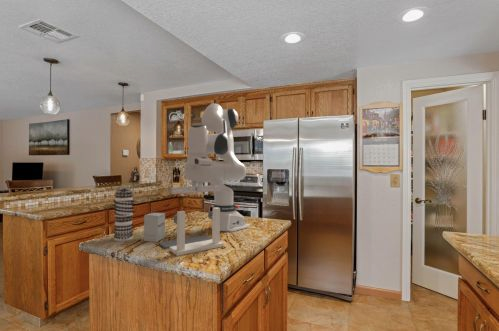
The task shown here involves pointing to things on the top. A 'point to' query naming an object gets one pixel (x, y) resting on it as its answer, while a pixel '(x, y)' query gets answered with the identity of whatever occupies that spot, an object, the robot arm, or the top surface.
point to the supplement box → (154, 227)
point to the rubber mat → (187, 240)
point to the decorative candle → (123, 214)
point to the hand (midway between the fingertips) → (196, 191)
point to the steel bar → (194, 189)
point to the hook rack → (200, 245)
